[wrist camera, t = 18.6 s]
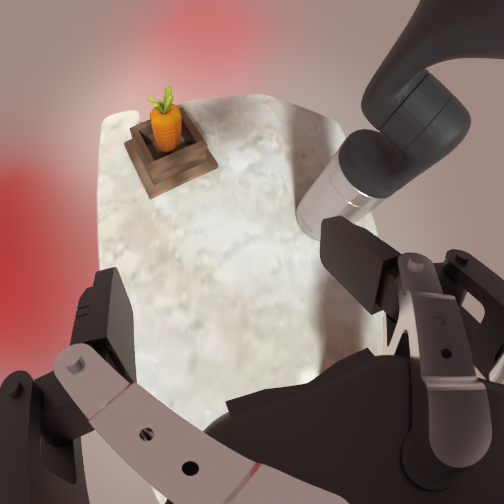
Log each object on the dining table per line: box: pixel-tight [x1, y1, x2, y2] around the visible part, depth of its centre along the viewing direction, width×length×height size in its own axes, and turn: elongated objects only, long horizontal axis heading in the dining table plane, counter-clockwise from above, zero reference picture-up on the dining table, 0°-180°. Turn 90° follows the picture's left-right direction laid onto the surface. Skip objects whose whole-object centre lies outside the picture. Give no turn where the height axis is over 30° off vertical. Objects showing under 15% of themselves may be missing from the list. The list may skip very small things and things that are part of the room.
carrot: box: [148, 86, 182, 155], centre depth 41 cm, size 5×5×15 cm
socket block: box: [124, 107, 218, 199], centre depth 46 cm, size 13×13×6 cm
